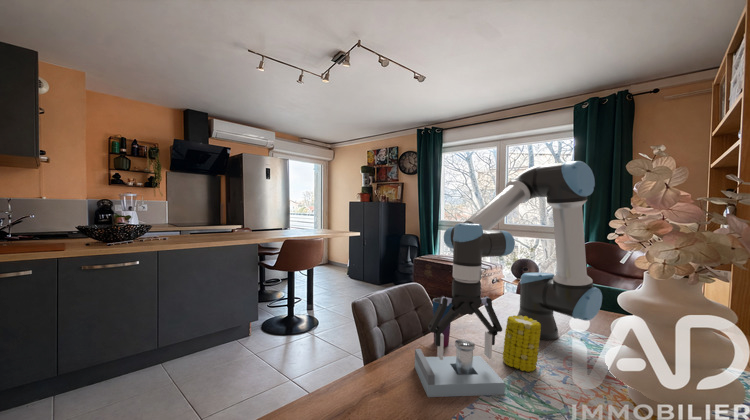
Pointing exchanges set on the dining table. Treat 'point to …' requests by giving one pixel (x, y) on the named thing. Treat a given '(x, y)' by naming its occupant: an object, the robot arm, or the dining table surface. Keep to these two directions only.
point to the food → (521, 343)
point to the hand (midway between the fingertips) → (464, 357)
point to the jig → (456, 377)
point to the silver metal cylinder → (464, 356)
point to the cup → (447, 331)
